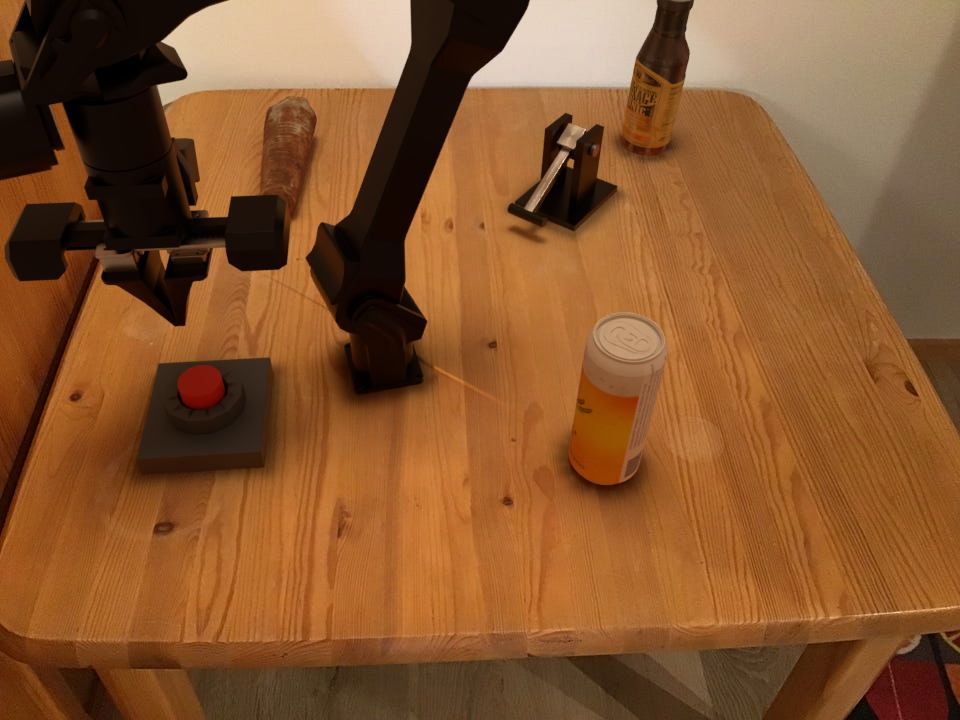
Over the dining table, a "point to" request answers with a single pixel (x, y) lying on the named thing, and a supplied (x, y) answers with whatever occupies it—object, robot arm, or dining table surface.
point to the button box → (208, 420)
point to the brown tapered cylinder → (286, 148)
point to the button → (201, 387)
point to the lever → (549, 177)
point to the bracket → (572, 178)
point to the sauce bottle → (658, 80)
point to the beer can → (616, 396)
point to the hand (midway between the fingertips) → (181, 322)
